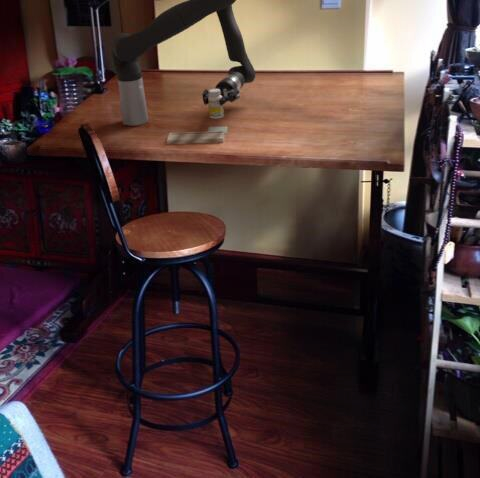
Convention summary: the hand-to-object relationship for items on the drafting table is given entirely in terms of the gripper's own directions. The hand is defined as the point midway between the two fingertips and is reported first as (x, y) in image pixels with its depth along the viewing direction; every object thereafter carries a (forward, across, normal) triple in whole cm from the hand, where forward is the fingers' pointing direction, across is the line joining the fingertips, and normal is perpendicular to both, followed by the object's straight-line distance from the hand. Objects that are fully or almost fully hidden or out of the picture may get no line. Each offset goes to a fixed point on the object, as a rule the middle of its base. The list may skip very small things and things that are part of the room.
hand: (212, 102), depth 222 cm
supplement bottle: (-3, 0, +6) cm, 7 cm away
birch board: (+7, -5, +12) cm, 14 cm away
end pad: (-2, 0, +12) cm, 12 cm away
